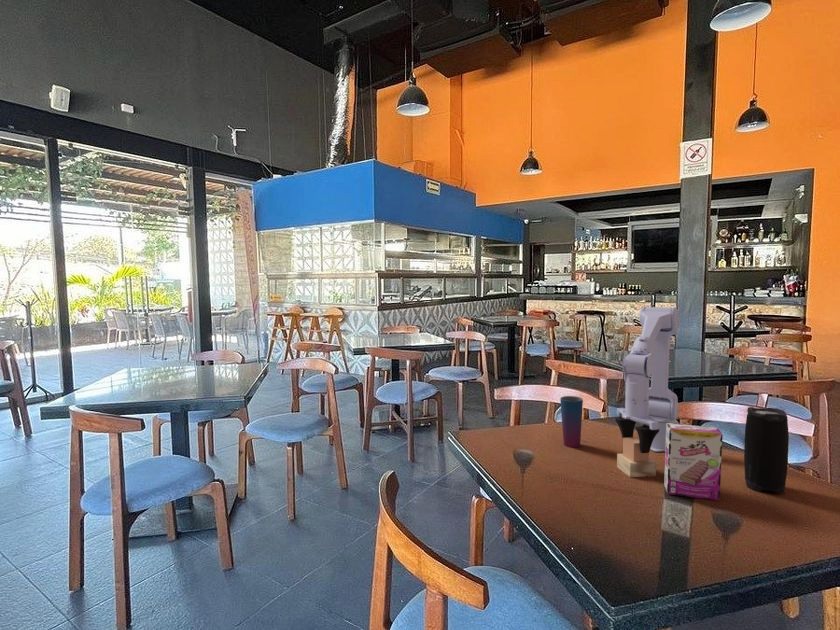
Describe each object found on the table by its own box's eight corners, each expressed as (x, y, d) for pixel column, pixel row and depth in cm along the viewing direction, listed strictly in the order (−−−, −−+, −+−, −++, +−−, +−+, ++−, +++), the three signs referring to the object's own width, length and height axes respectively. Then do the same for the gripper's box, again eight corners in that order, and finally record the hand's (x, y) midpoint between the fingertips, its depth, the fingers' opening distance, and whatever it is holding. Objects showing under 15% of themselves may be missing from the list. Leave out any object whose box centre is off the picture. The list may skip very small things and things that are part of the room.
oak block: (641, 466, 126) (641, 452, 126) (655, 477, 119) (655, 462, 119) (617, 467, 126) (617, 453, 126) (630, 478, 119) (630, 463, 119)
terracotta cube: (637, 454, 125) (637, 436, 125) (648, 460, 121) (648, 442, 120) (622, 455, 124) (623, 438, 124) (633, 461, 120) (633, 443, 119)
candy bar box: (667, 495, 108) (668, 428, 107) (663, 486, 113) (664, 422, 112) (721, 502, 105) (723, 432, 104) (715, 492, 109) (717, 426, 108)
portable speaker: (774, 481, 115) (777, 406, 114) (795, 498, 106) (798, 416, 105) (736, 478, 117) (738, 404, 116) (753, 494, 108) (756, 414, 107)
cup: (586, 448, 140) (585, 401, 139) (564, 448, 141) (563, 401, 140) (579, 441, 147) (579, 395, 146) (558, 441, 148) (557, 396, 147)
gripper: (607, 393, 128) (606, 440, 129) (641, 406, 114) (641, 458, 114) (629, 392, 129) (628, 438, 130) (666, 404, 115) (665, 456, 116)
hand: (636, 448), depth 122 cm, fingers open, 6 cm apart
